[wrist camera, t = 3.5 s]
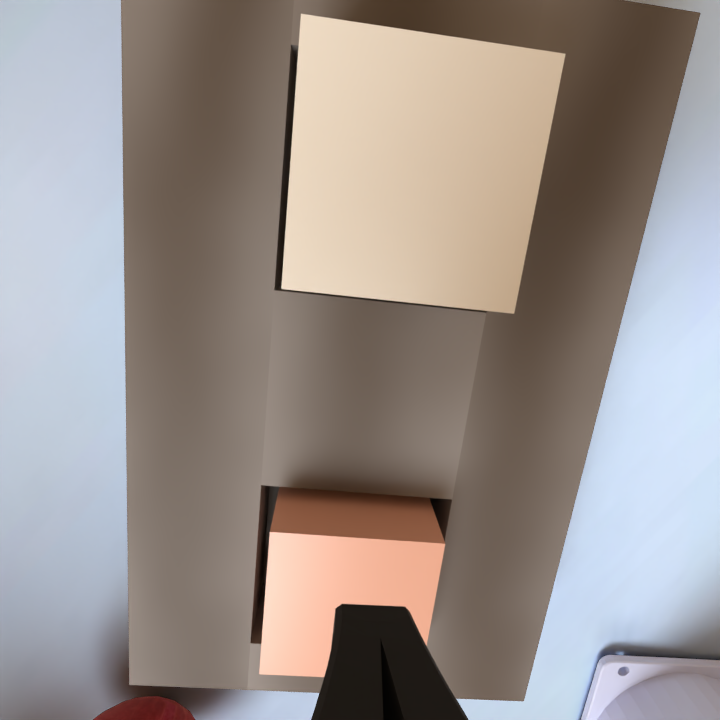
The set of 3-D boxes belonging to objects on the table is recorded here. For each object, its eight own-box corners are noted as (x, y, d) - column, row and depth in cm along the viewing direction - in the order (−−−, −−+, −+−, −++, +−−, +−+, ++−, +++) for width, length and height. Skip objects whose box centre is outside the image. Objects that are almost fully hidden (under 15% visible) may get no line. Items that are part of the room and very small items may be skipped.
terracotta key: (426, 489, 17) (445, 543, 14) (406, 608, 18) (419, 681, 15) (281, 478, 16) (269, 531, 14) (271, 600, 18) (259, 674, 15)
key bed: (620, 59, 15) (700, 12, 12) (493, 625, 21) (523, 701, 18) (170, -9, 14) (120, -82, 11) (163, 607, 20) (129, 684, 17)
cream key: (509, 95, 12) (565, 54, 9) (475, 295, 13) (514, 313, 10) (308, 66, 12) (300, 13, 9) (293, 275, 13) (281, 288, 10)
